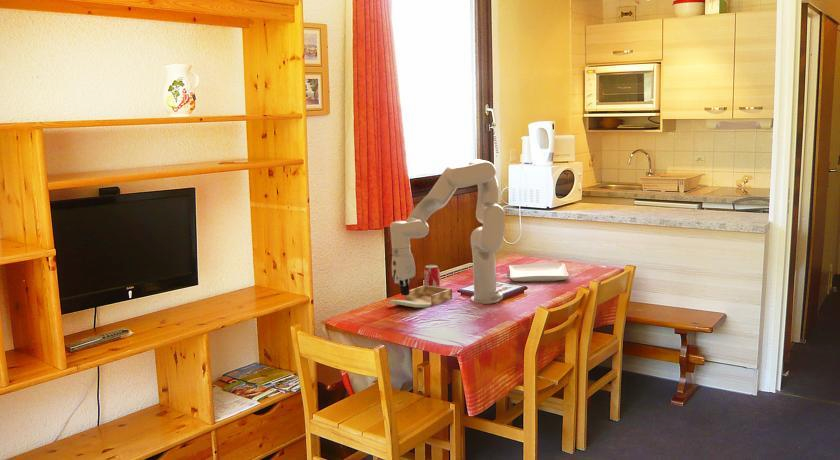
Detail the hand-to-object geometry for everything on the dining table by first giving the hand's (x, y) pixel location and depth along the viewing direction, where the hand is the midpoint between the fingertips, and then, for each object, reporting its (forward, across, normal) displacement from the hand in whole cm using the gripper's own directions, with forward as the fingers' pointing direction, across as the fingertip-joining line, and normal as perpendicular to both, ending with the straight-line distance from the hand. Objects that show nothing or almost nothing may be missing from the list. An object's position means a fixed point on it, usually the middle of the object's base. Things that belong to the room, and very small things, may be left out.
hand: (405, 294), depth 318 cm
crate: (+7, +15, +1) cm, 17 cm away
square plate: (+10, +78, -16) cm, 80 cm away
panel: (+6, +8, +1) cm, 10 cm away
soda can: (+8, +29, +10) cm, 31 cm away
